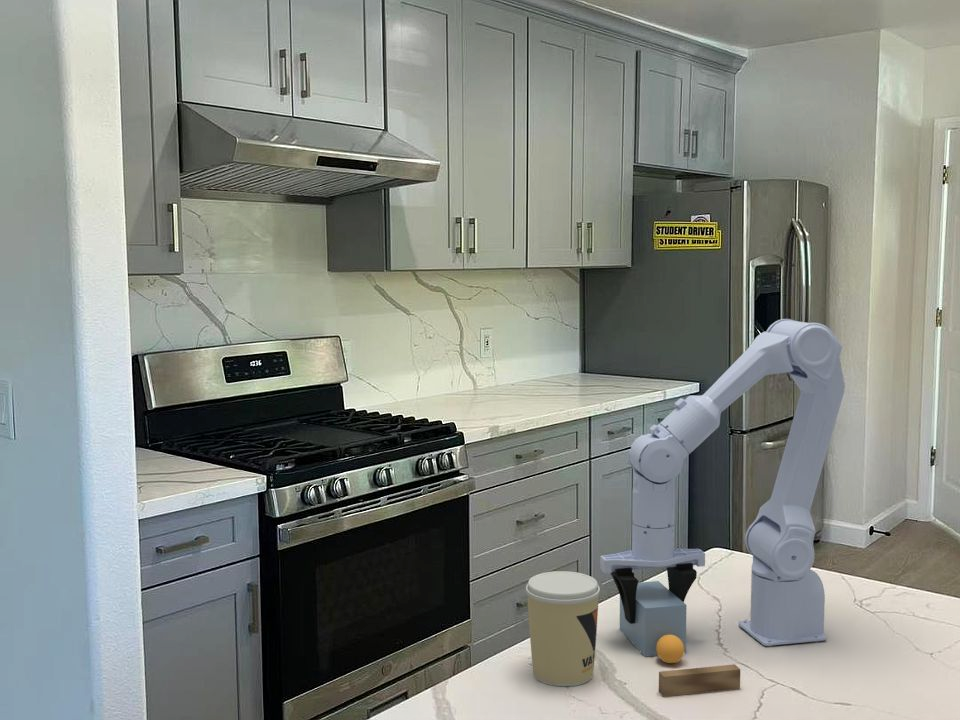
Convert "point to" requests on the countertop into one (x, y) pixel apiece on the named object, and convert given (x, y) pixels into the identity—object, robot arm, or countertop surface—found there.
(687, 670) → the brown rectangular block
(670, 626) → the blue-grey rectangular block
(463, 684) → the countertop surface
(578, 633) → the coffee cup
